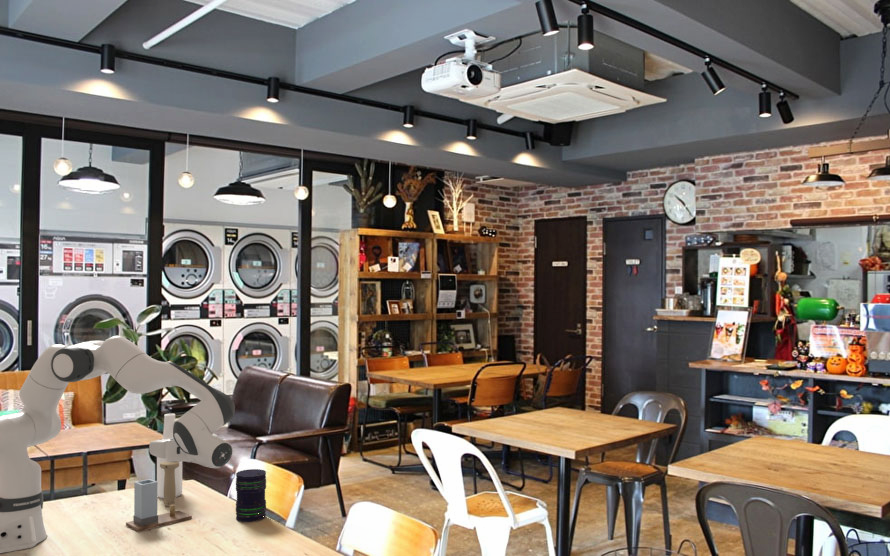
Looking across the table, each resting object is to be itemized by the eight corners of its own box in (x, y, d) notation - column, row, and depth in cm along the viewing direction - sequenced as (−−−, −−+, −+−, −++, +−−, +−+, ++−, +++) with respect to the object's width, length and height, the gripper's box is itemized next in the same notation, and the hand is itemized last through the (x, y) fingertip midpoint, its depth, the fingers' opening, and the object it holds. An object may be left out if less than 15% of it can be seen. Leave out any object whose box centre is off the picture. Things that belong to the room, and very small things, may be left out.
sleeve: (141, 526, 234) (141, 485, 234) (133, 522, 238) (133, 482, 238) (158, 522, 238) (158, 481, 239) (150, 518, 242) (150, 478, 242)
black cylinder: (229, 520, 243) (229, 475, 243) (246, 512, 252) (246, 468, 253) (255, 523, 240) (255, 477, 240) (271, 514, 249) (272, 470, 249)
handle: (164, 503, 263) (164, 461, 263) (181, 503, 262) (181, 461, 262) (157, 507, 258) (157, 464, 258) (175, 507, 257) (175, 464, 257)
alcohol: (153, 499, 268) (153, 416, 268) (160, 492, 276) (161, 412, 277) (178, 498, 268) (178, 416, 269) (184, 492, 277) (185, 412, 278)
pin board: (138, 531, 232) (138, 517, 232) (125, 525, 238) (125, 511, 238) (191, 518, 245) (191, 505, 245) (178, 513, 251) (178, 499, 251)
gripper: (226, 431, 228) (203, 425, 237) (162, 441, 213) (141, 434, 222) (226, 451, 228) (203, 445, 237) (162, 463, 213) (141, 455, 222)
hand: (172, 440), depth 230 cm, fingers open, 8 cm apart
